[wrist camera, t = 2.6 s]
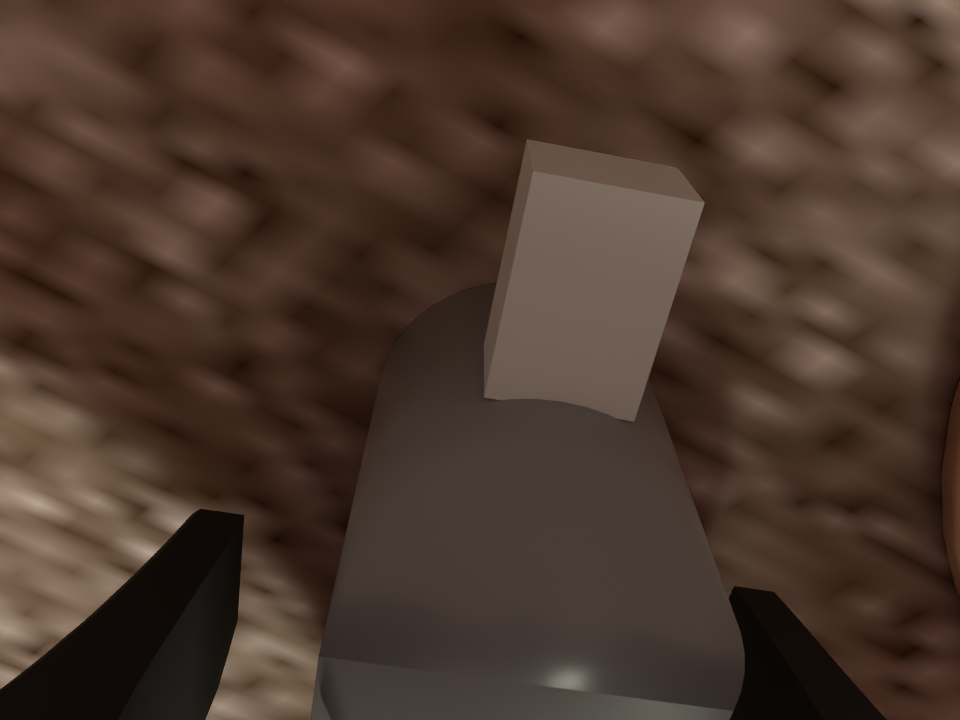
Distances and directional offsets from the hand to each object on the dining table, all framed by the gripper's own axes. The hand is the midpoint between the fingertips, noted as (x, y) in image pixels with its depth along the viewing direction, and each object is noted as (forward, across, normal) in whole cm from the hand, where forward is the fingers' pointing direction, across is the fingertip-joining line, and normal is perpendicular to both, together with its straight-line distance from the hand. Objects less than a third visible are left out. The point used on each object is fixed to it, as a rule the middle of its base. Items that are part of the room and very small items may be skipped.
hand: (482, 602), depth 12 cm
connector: (+1, 0, -1) cm, 2 cm away
